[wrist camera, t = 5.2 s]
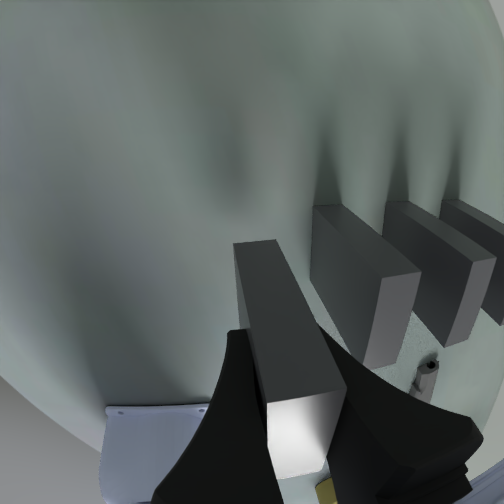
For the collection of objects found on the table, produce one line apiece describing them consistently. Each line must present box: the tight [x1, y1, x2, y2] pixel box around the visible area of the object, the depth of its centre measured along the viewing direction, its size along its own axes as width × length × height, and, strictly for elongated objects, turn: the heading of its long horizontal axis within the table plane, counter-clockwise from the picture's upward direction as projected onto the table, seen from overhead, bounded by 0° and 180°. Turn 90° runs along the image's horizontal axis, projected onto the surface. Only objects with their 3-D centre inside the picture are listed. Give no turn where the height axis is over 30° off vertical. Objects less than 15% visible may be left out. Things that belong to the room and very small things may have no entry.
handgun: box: [409, 359, 439, 404], centre depth 29 cm, size 2×16×12 cm
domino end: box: [439, 200, 504, 326], centre depth 16 cm, size 2×5×8 cm, turn 2°
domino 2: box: [310, 204, 422, 370], centre depth 15 cm, size 2×5×8 cm, turn 2°
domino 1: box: [233, 239, 347, 479], centre depth 11 cm, size 2×5×8 cm, turn 2°
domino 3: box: [382, 201, 497, 348], centre depth 16 cm, size 2×5×8 cm, turn 2°
